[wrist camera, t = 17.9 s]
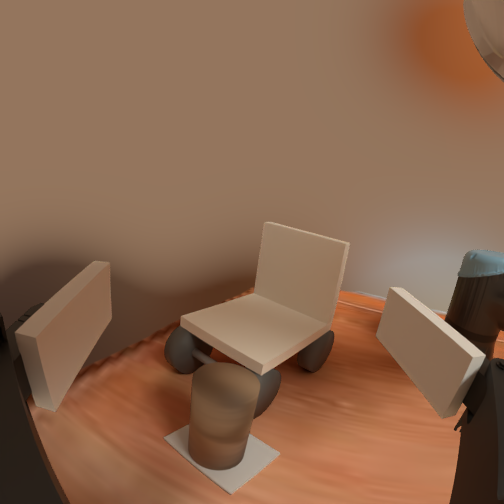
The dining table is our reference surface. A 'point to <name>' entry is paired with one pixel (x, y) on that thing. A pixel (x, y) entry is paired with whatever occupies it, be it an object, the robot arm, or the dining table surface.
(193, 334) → the trolley
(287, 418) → the dining table surface
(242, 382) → the cylindrical block
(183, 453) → the pad
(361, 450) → the dining table surface
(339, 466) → the dining table surface
